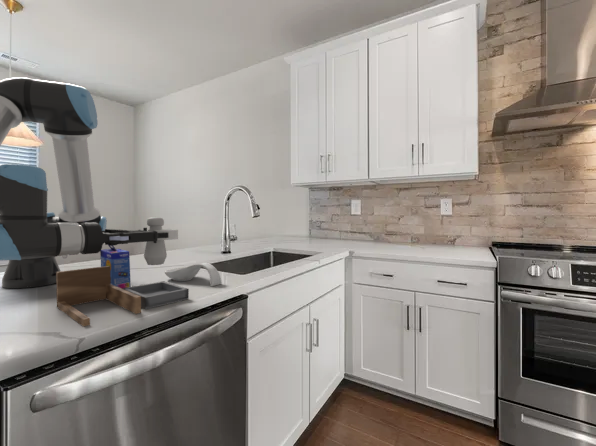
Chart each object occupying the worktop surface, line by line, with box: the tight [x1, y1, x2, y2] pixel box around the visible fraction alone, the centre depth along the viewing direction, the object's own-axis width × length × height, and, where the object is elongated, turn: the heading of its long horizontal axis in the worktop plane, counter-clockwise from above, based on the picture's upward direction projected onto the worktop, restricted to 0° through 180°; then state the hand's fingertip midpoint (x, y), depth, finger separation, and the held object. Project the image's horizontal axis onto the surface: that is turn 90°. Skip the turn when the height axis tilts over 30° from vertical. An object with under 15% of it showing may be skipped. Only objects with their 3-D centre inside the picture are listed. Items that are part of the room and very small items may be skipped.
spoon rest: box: [164, 262, 222, 287], centre depth 110 cm, size 24×12×7 cm, turn 60°
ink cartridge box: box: [99, 245, 132, 289], centre depth 97 cm, size 10×6×14 cm, turn 51°
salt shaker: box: [143, 216, 168, 266], centre depth 87 cm, size 6×6×13 cm
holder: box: [55, 266, 142, 327], centre depth 77 cm, size 20×12×9 cm, turn 51°
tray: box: [122, 281, 190, 310], centre depth 87 cm, size 14×12×3 cm
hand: (173, 234), depth 91 cm, fingers closed on salt shaker, 3 cm apart
